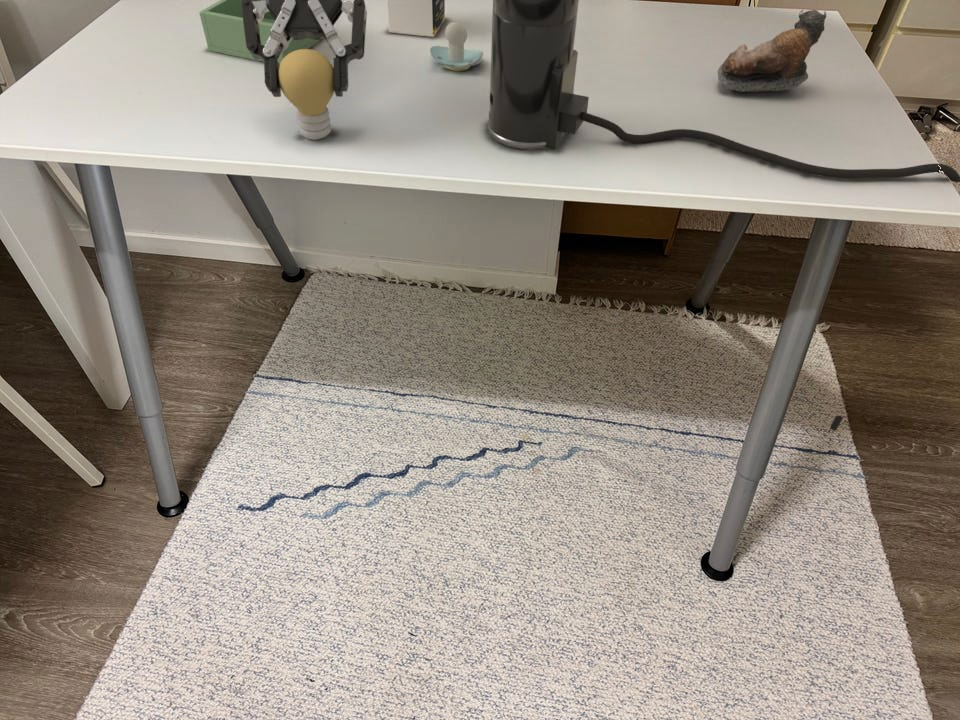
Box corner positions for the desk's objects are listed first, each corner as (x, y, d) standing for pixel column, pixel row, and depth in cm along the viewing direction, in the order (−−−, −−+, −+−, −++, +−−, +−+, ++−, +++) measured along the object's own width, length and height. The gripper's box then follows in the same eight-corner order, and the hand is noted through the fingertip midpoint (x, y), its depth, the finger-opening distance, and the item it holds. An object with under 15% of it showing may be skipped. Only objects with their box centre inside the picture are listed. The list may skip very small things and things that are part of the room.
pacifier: (437, 54, 105) (427, 70, 100) (437, 8, 100) (426, 23, 96) (487, 59, 104) (479, 76, 99) (489, 13, 99) (480, 29, 95)
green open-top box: (330, 33, 109) (325, -5, 105) (284, 66, 101) (277, 27, 97) (258, 19, 112) (251, -18, 108) (208, 50, 104) (198, 11, 100)
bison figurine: (721, 100, 96) (743, 21, 89) (707, 76, 101) (726, 0, 94) (810, 100, 97) (838, 21, 89) (792, 76, 102) (817, 0, 94)
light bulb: (279, 133, 88) (262, 49, 81) (324, 116, 91) (312, 35, 84) (307, 154, 84) (293, 69, 77) (353, 136, 87) (343, 53, 80)
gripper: (228, -74, 78) (233, 82, 78) (363, -73, 79) (368, 82, 79) (247, -37, 85) (251, 106, 86) (370, -36, 86) (374, 105, 86)
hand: (307, 94), depth 82 cm, fingers closed on light bulb, 6 cm apart
